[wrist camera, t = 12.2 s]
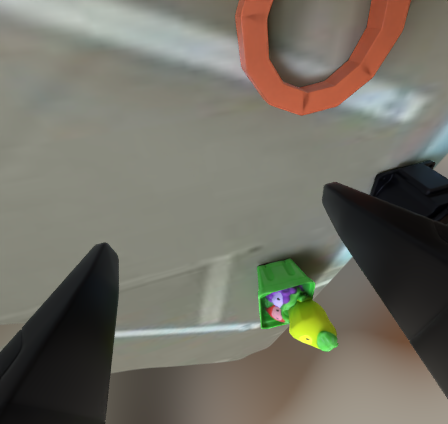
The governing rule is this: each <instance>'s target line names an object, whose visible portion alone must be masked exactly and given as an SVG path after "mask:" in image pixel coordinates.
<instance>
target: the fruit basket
mask: <svg viewBox="0 0 448 424" xmlns="http://www.w3.org/2000/svg"><path fill="white" fill-rule="evenodd" d="M257 272H258V284H259V291H258V300H259V313H260V322H261V328H262V329H269V328H273V327H277V326H281V325H285V324H289V323H290V329H289V332H290V334H291V335H292V336H293V337H294V338H295V339H297V340H299V341H301V342H303V343H306V344H309V345H311V346H314V347H316V348H318V349H321V350H322V351H331V350H332V349H333V348H336V347H337V346H338V343H337V337H336V336H337V333H336V329H335V328H334V326H333V325H332V323H331V322H330V321H329V319H328V317H327V315H326V312H325V311H324V309H323V308H322V307H321V306H320V305H319V304H317V303H316V302H314V301H313V300H312V299H313V294H314V289H315V282H314V281H312V280H311V279H310V278H309V277H307V276H306V274H305V273H304V272H303V271H302V270H301V269H300V268H299V267H298V266H297V265H296V264H295V263H294V262H293V260H292V259H286V260H284V261H277V262H273V263H269V264H266V265H265V266H264V265H261V266H258V267H257Z"/></svg>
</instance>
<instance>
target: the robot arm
mask: <svg viewBox="0 0 448 424" xmlns="http://www.w3.org/2000/svg"><path fill="white" fill-rule="evenodd" d="M434 166H435V162H433V161H431V160H429V161H425V162H422V163H418V164H414V165H410V166H406V167H403V168H399V169H395V170H391V171H387V172H384V173H380V174H379V175H377V176H376V178H375V182H374V185H373V188H372V191H371V194H370V195H368V194H366V193H363V192H360V191H358V190H355V189H353V188H350V187H348V186H345V185H343V184H340V183H337V182H332V183H328V184H326V185H325V186H324V190H323V197H322V203H323V206H324V208H325V210H326V212H327V214H328V216H329V218H330V220H331V222H332V223H333V225H334V227H335V229H336V231H337V233H338V235H339V237H340V238H341V240H342V241H343V243H344V244H345V246H346V247H347V249H348V250H349V252H350V253H351V255H352V256H353V258H354V259H355V260H356V262H357V264H358V265H359V267H360V268H361V270H362V271H363V272H364V274H365V276H366V277H367V279H368V280H369V281H370V283H371V285H372V286H373V288H374V289H375V291H376V292H377V294H378V295H379V297H380V298H381V300H382V301H383V302H384V304H385V306H386V307H387V309H388V310H389V311H390V313H391V314H392V316H393V317H394V319H395V320H396V322H397V323H398V325H399V327H400V328H401V329H402V331H403V332H404V334H405V335H406V337H407V338H408V340H410V343H411V345H412V346H413V348H414V349H415V351H416V352H417V354H418V355H419V357H420V358H421V360H422V361H423V363H424V364H425V365H426V367H427V369H428V370H429V372H430V373H431V375H432V376H433V378H434V379H435V380H436V382H437V383H438V385H439V387H440V388H441V389H442V391H443V393H444V394H445V396H446V397H447V399H448V179H447V178H446V177H444V176H442V175H441V174H439V173H437V172H436V171H434V170H433V168H434ZM118 297H119V259H118V255H117V254H116V252H115V251H114V250H113V249H112V248H111V247H110V245H109V244H108V243H101V244H97V245H95V246H94V247H93V248H92V249H91V250H90V251H89V253H88V254H87V255H86V256H85V257H84V258H83V259H82V260H81V262H80V263H79V264H78V265H77V266H76V267H75V268H74V270H73V271H72V272H71V273H70V274H69V275H68V276H67V277H66V279H65V280H64V281H63V282H62V283H61V284H60V285H59V286H58V288H57V289H56V290H55V291H54V292H53V293H52V294H51V296H50V297H49V298H48V299H47V300H46V301H45V302H44V303H43V305H42V306H41V307H40V308H39V309H38V310H37V311H36V312H35V314H34V315H33V316H32V317H31V318H30V319H29V320H28V322H27V323H26V324H25V325H24V326H23V327H22V330H20V331H19V332H18V333H17V334H16V335H15V336H14V337H13V339H12V340H11V341H10V342H9V343H8V344H7V345H6V346H5V347H4V348H3V350H2V351H1V352H0V424H105V420H106V411H107V401H108V390H109V382H110V373H111V363H112V354H113V345H114V335H115V326H116V316H117V307H118Z"/></svg>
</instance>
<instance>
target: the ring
mask: <svg viewBox="0 0 448 424" xmlns="http://www.w3.org/2000/svg"><path fill="white" fill-rule="evenodd" d="M410 2H411V0H372V1H371V7H370V12H369V17H368V23H367V28H366V30H365V31H364V33H363V35H362V37H361V38H360V40H359V42H358V44H357V46H356V47H355V49H354V51H353V53H352V54H351V56H350V58H349V60H348V61H347V62H346V63H344V64H343V65H342V66H341V67H340V68H339V69H338V70H336V71H335V72H334V73H333V74H332V75H331V76H329V77H328V78H327V79H326V80H325V81H322V82H319V83H315V84H311V85H307V86H303V87H300V88H299V87H296V86H294V85H291V84H289V83H286V82H284V81H282V79H281V77H280V76H279V74H278V72H277V71H276V69H275V67H274V66H273V64H272V62H271V61H270V59H269V46H268V26H267V17H268V14H269V11H270V9H271V6H272V3H273V0H239V3H238V7H237V10H236V14H235V15H236V16H235V20H236V28H237V36H238V44H239V53H240V61H241V67H242V69H243V71H244V72H245V74H246V75H247V77H248V78H249V79H250V81H251V82H252V84H253V85H254V86H255V88H256V89H257V91H258V92H259V94H260V95H261V96H262V98H263V99H264V100H265V101H266V102H267V103H268V104H269V105H271V106H274V107H277V108H280V109H283V110H286V111H289V112H292V113H295V114H298V115H301V116H302V115H306V114H310V113H314V112H317V111H321V110H325V109H329V108H333V107H336V106H338V105H339V104H341V103H342V102H343V101H344V100H346V99H347V98H348V97H349V96H351V95H352V94H353V93H354V92H356V91H357V90H358V89H359V88H360V87H362V86H363V85H364V84H365V83H367V82H368V81H369V80H370V79H372V77H373V76H374V75H375V73H376V72H377V70H378V69H379V67H380V65H381V64H382V62H383V61H384V59H385V58H386V56H387V55H388V53H389V51H390V50H391V48H392V47H393V45H394V44H395V42H396V41H397V39H398V37H399V36H400V34H401V33H402V31H403V28H404V25H405V21H406V17H407V14H408V10H409V6H410Z"/></svg>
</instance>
